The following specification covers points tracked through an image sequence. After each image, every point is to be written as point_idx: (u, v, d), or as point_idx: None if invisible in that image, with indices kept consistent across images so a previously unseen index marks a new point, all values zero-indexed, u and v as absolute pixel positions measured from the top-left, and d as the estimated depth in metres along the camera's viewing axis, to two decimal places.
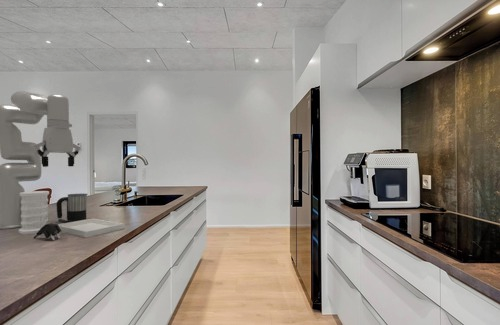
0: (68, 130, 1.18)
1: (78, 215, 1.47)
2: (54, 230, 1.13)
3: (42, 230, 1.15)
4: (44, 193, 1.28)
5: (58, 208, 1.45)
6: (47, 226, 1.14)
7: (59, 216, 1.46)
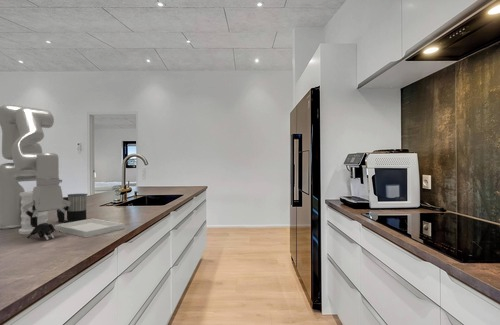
0: (58, 187, 1.17)
1: (78, 215, 1.47)
2: (48, 230, 1.14)
3: (36, 230, 1.15)
4: None
5: None
6: (41, 226, 1.15)
7: None
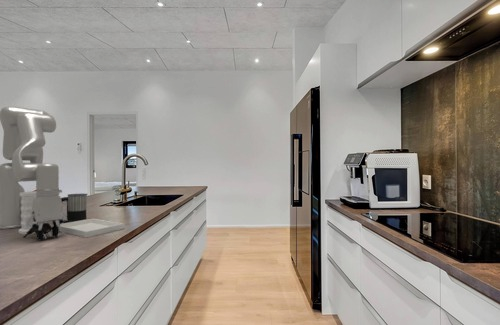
0: (58, 198, 1.17)
1: (78, 215, 1.46)
2: (46, 229, 1.15)
3: (33, 229, 1.16)
4: None
5: None
6: None
7: None
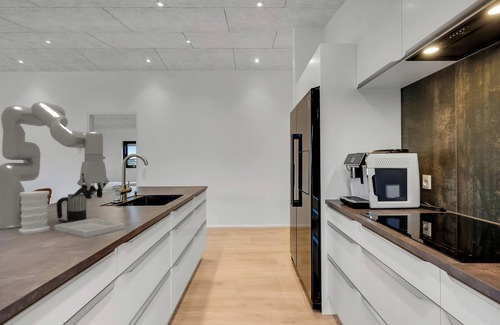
0: (102, 163, 1.31)
1: (78, 215, 1.46)
2: (92, 190, 1.29)
3: (80, 190, 1.30)
4: (44, 193, 1.28)
5: (58, 208, 1.45)
6: None
7: (59, 216, 1.45)
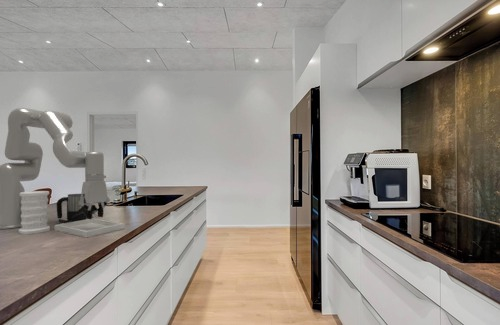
0: (103, 182, 1.31)
1: (78, 215, 1.46)
2: (93, 209, 1.30)
3: (81, 210, 1.30)
4: (44, 193, 1.28)
5: (58, 208, 1.45)
6: None
7: (59, 216, 1.45)
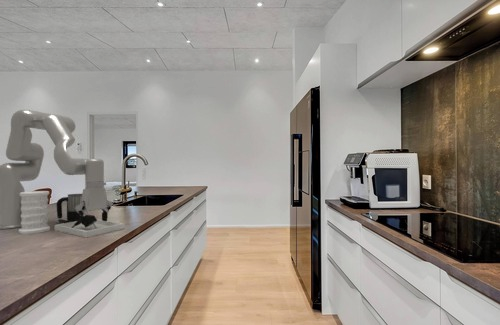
0: (103, 189, 1.31)
1: (78, 215, 1.46)
2: (93, 220, 1.30)
3: (80, 221, 1.30)
4: (44, 193, 1.28)
5: (58, 208, 1.45)
6: None
7: (59, 216, 1.45)
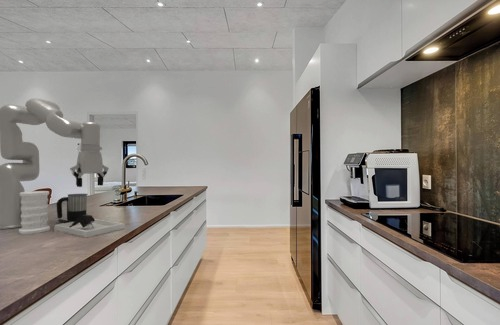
0: (99, 153, 1.31)
1: (78, 215, 1.46)
2: (91, 220, 1.30)
3: (78, 221, 1.30)
4: (44, 193, 1.28)
5: (58, 208, 1.45)
6: (83, 217, 1.30)
7: (59, 216, 1.45)
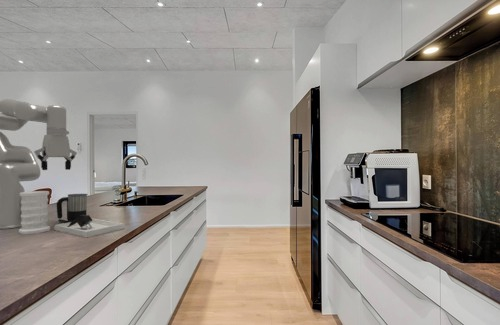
0: (65, 137, 1.31)
1: (78, 215, 1.46)
2: (88, 220, 1.30)
3: (76, 221, 1.30)
4: (44, 193, 1.28)
5: (58, 208, 1.45)
6: (81, 217, 1.30)
7: (59, 216, 1.45)
